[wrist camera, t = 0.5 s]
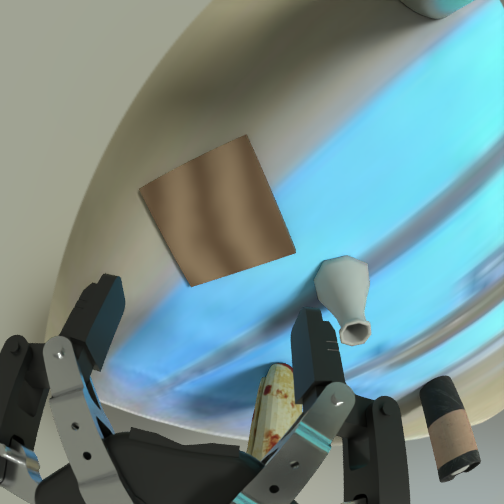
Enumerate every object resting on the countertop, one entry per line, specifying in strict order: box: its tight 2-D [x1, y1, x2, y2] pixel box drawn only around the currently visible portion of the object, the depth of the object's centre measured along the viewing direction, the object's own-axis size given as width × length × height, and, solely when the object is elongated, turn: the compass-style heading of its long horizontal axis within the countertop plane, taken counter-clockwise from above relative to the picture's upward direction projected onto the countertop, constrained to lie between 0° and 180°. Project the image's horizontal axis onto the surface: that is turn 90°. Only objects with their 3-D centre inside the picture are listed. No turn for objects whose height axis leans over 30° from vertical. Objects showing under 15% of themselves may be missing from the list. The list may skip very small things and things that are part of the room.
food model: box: [246, 363, 302, 461], centre depth 32 cm, size 10×7×20 cm
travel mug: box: [420, 376, 481, 482], centre depth 30 cm, size 8×8×20 cm
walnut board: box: [139, 135, 296, 287], centre depth 31 cm, size 14×14×1 cm
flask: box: [314, 255, 371, 346], centre depth 28 cm, size 7×7×10 cm
